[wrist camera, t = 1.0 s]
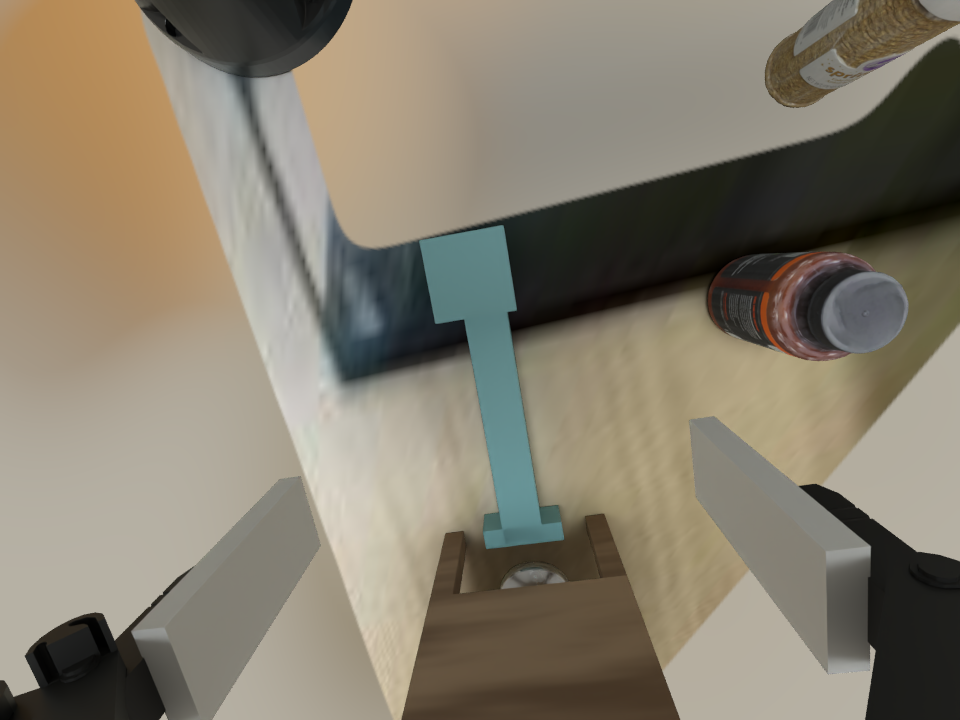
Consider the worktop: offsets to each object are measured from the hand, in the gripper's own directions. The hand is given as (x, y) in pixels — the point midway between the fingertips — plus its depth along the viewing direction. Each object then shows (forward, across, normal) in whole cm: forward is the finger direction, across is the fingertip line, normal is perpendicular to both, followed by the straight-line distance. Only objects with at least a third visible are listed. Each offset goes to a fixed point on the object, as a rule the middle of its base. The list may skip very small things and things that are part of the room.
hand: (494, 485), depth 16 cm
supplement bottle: (+21, +18, +1) cm, 27 cm away
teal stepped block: (+20, -1, -3) cm, 20 cm away
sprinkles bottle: (+21, +22, +15) cm, 34 cm away
